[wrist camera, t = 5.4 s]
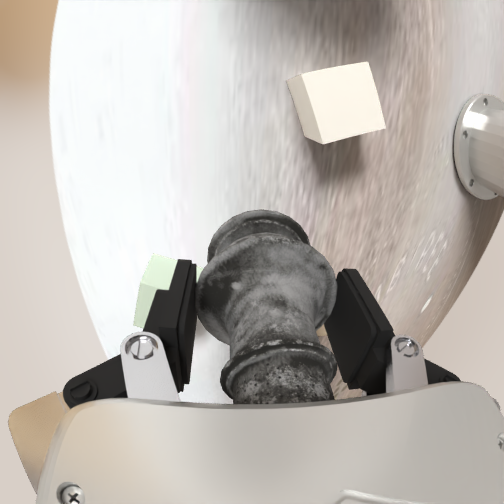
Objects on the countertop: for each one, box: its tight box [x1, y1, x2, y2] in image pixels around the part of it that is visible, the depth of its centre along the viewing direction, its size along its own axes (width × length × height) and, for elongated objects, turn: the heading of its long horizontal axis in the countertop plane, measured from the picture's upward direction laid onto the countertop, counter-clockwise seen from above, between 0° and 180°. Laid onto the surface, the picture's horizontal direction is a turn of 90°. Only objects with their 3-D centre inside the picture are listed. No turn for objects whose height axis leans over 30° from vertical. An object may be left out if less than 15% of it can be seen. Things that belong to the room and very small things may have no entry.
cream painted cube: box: [286, 62, 386, 144], centre depth 19 cm, size 5×5×5 cm
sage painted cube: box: [133, 253, 203, 329], centre depth 26 cm, size 5×5×5 cm
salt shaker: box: [195, 210, 337, 404], centre depth 9 cm, size 6×6×12 cm
